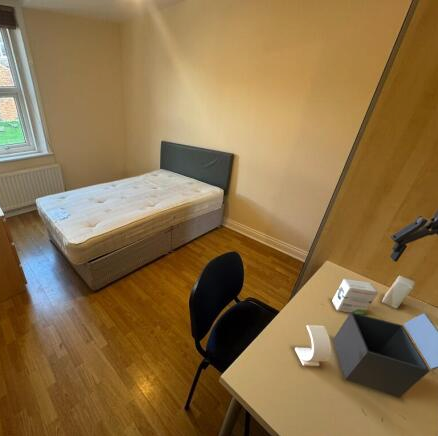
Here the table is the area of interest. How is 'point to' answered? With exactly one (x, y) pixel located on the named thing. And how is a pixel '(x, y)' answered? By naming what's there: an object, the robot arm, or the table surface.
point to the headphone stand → (315, 347)
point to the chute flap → (425, 338)
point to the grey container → (378, 355)
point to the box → (398, 291)
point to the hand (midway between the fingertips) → (419, 263)
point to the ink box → (354, 296)
